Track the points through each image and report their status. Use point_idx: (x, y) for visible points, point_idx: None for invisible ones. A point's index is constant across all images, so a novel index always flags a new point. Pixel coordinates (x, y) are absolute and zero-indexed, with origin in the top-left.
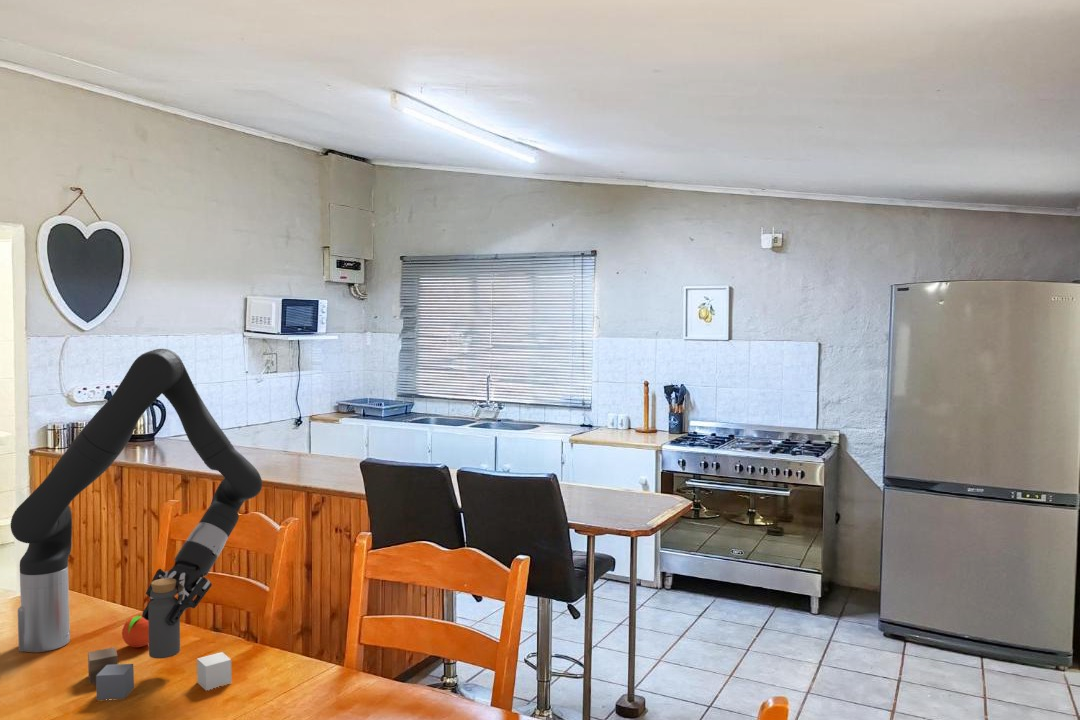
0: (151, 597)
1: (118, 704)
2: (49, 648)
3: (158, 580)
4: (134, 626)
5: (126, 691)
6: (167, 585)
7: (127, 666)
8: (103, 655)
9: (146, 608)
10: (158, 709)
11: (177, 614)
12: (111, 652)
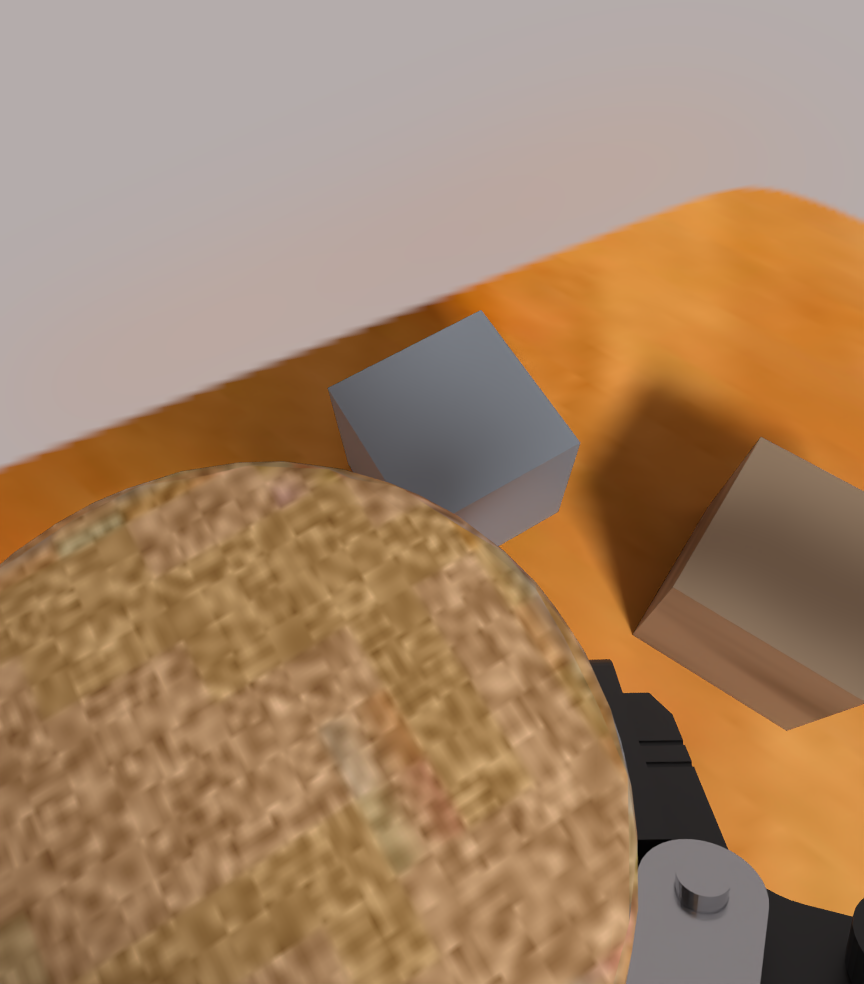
0: (709, 856)
1: (328, 415)
2: None
3: (479, 818)
4: None
5: None
6: None
7: (416, 482)
8: (771, 541)
9: (623, 718)
10: (71, 462)
11: None
12: (776, 608)
